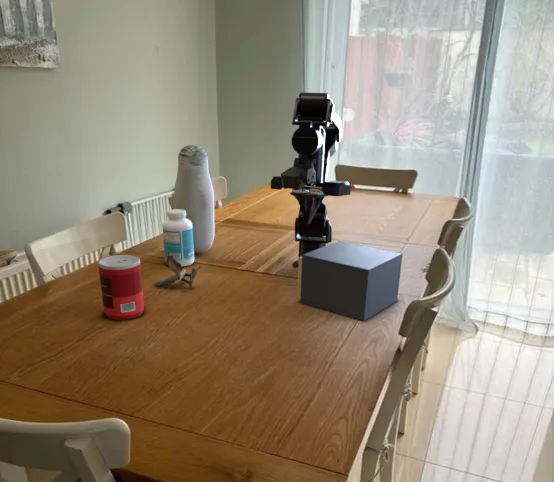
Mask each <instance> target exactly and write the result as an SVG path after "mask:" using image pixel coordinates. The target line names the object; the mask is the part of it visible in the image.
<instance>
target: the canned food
mask: <svg viewBox="0 0 554 482" xmlns="http://www.w3.org/2000/svg"><path fill="white" fill-rule="evenodd" d="M98 274H99V283H100V290H101V298H102V306H103V312H104V314H105V316H106V317H107V318H109V319H111V320H116V321H125V320H132V319H135V318H138V317H139V316H141V315H142V314H143V313H144V310H145V302H144V289H143V287H144V286H143V278H142V277H143V276H142V275H143V274H142V265H141V259H140V257H138V256H135V255H132V254H131V255H130V254H115V255H110V256H105V257H103V258H101V259H100V260H98Z"/></svg>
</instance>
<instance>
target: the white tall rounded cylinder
mask: <svg viewBox="0 0 554 482" xmlns="http://www.w3.org/2000/svg"><path fill="white" fill-rule="evenodd" d="M177 156H178V157H177V171H176V172H177V173H176V179H175V183H174V188H173V189H174V190H173V201H174V202H173V203H174V204H173V205H174V209H182V210H186V217H185V218H186V219H188V220H190V221H191V222H192V228H193V245H194V254H203V253H206V252H208V251H209V250H210V249H211V247H212V245H213V243H214V240H215V230H216V229H215V225H216V224H215V192H214V187H213V183H212V178H211V175H210V170H209V169H210V168H209V159H208V158H209V157H208V154H207V152H206V150H205V149H204V148H203V147H201V146H199V145H193V144H190V145H186V146H183V147H182V148H181V149H180V150H179V152H178V155H177Z"/></svg>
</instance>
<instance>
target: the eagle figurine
mask: <svg viewBox="0 0 554 482" xmlns="http://www.w3.org/2000/svg"><path fill="white" fill-rule="evenodd" d="M166 259H167V260H166V262H167V264H166V265H167V267H169V268H170V270H171V272H173V273H175V274H174V275H169V276H165V277H164V278H162V279H161V281H159V282H157V283H156V286H157V287H160V286H164V285H167V284H168V285H173V284H175V283H176V282H177V281H179V282H180V283H182V284H184V283H185V284H188V286H189V288H190V289H191V290H192V289H193V283H194V280H195V278H196V275H197V274H198V273H199V271H200V269H201V265H199V266H198V267H197V268H194V267H192V268H191V273H187V272H186V271H187V269H186V268H183V267H184V266H183V267H182V266H181V264H180V263H179V262H176V261H175V259H174V258H173V256H172V255H170V256H168V257H167V258H166ZM166 262H165V263H166ZM185 277H189V280H188V279H187V278H185Z"/></svg>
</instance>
